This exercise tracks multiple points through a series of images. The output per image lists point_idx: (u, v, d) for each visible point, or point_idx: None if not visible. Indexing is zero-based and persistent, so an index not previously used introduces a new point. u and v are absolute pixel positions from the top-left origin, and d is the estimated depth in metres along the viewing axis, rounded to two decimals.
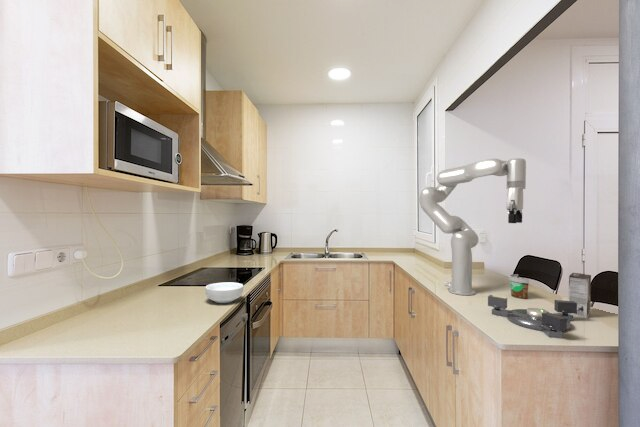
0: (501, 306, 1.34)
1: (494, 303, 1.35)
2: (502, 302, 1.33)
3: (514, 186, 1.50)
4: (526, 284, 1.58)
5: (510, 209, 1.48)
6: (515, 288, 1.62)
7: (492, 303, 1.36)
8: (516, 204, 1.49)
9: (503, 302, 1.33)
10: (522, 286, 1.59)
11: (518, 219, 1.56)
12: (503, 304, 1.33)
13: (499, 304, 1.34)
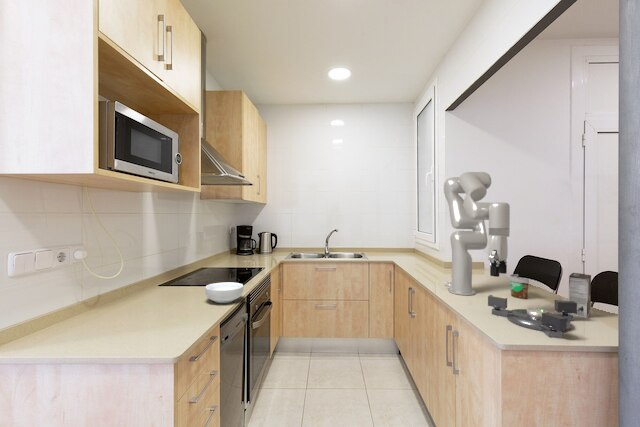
0: (501, 306, 1.34)
1: (494, 303, 1.35)
2: (502, 302, 1.33)
3: (496, 234, 1.33)
4: (526, 284, 1.58)
5: (492, 261, 1.30)
6: (515, 288, 1.62)
7: (492, 303, 1.36)
8: (499, 255, 1.31)
9: (503, 302, 1.33)
10: (522, 286, 1.59)
11: (502, 269, 1.38)
12: (503, 304, 1.33)
13: (499, 304, 1.34)
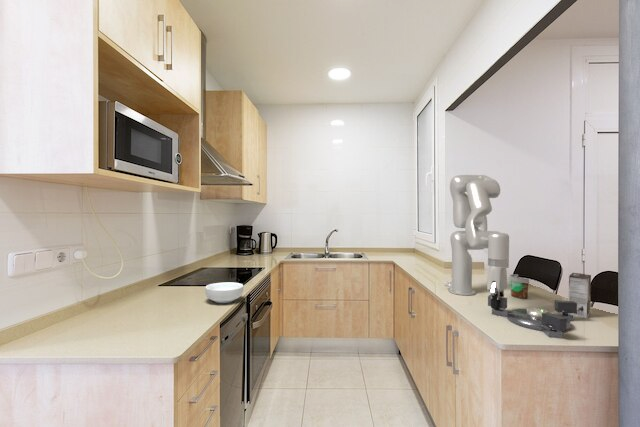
0: (501, 306, 1.34)
1: None
2: (502, 302, 1.33)
3: (496, 265, 1.33)
4: (526, 284, 1.58)
5: None
6: (515, 288, 1.62)
7: None
8: (498, 286, 1.31)
9: (503, 302, 1.33)
10: (522, 286, 1.59)
11: None
12: (503, 304, 1.33)
13: None
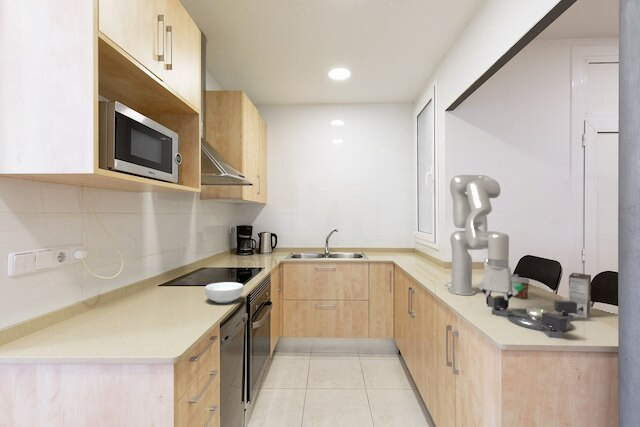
0: None
1: (498, 304, 1.34)
2: None
3: (508, 265, 1.33)
4: (526, 284, 1.58)
5: None
6: (515, 288, 1.62)
7: (497, 304, 1.34)
8: None
9: None
10: (522, 286, 1.59)
11: None
12: None
13: (502, 303, 1.35)
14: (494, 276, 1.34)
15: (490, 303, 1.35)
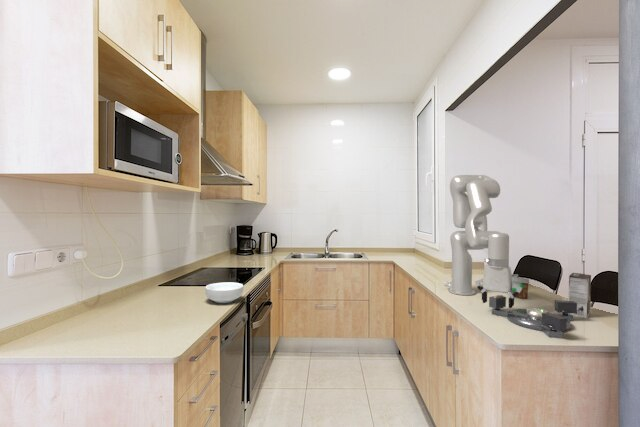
0: (503, 305, 1.36)
1: (499, 304, 1.34)
2: (504, 301, 1.36)
3: (508, 265, 1.33)
4: (526, 284, 1.58)
5: None
6: (515, 288, 1.62)
7: (498, 304, 1.34)
8: (512, 285, 1.34)
9: (505, 300, 1.36)
10: (522, 286, 1.59)
11: (486, 298, 1.39)
12: (504, 302, 1.36)
13: (502, 303, 1.35)
14: (494, 276, 1.34)
15: (491, 303, 1.35)
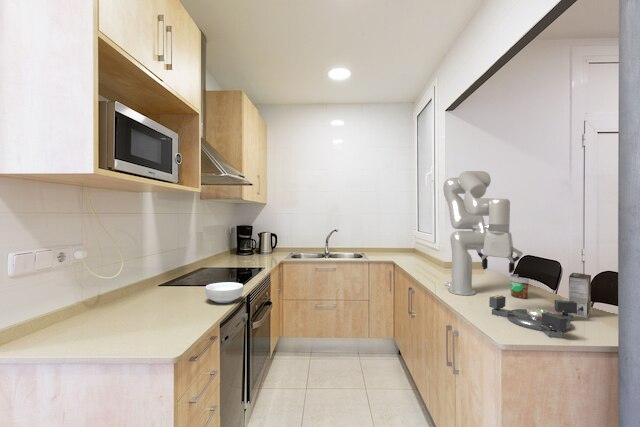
0: (503, 304, 1.36)
1: (500, 304, 1.34)
2: (504, 300, 1.36)
3: None
4: (526, 284, 1.58)
5: (519, 257, 1.30)
6: (515, 288, 1.62)
7: (499, 304, 1.34)
8: None
9: (504, 300, 1.36)
10: (522, 286, 1.59)
11: (486, 265, 1.39)
12: (504, 302, 1.36)
13: (502, 303, 1.35)
14: (495, 241, 1.34)
15: (492, 304, 1.35)
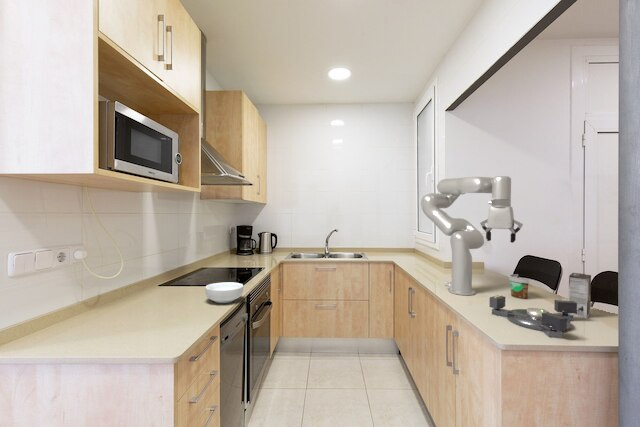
0: (503, 304, 1.36)
1: (500, 304, 1.34)
2: (504, 300, 1.36)
3: (510, 205, 1.48)
4: (526, 284, 1.58)
5: (520, 228, 1.45)
6: (515, 288, 1.62)
7: (499, 304, 1.34)
8: (513, 223, 1.48)
9: (504, 300, 1.36)
10: (522, 286, 1.59)
11: (490, 237, 1.54)
12: (504, 302, 1.36)
13: (502, 303, 1.35)
14: (498, 214, 1.49)
15: (492, 304, 1.35)
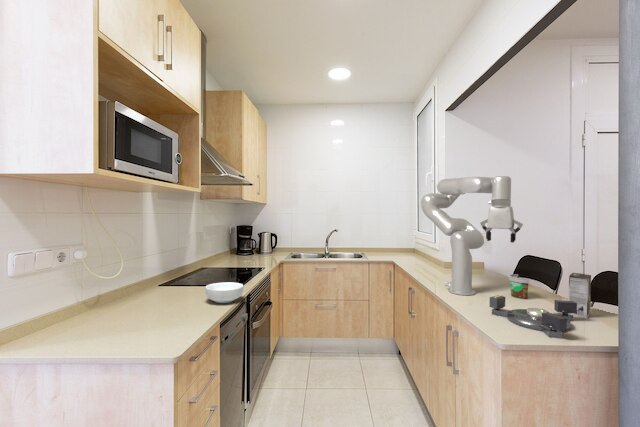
0: (503, 304, 1.36)
1: (500, 304, 1.34)
2: (504, 300, 1.36)
3: (510, 204, 1.48)
4: (526, 284, 1.58)
5: (520, 228, 1.45)
6: (515, 288, 1.62)
7: (499, 304, 1.34)
8: (513, 223, 1.48)
9: (504, 300, 1.36)
10: (522, 286, 1.59)
11: (490, 237, 1.54)
12: (504, 302, 1.36)
13: (502, 303, 1.35)
14: (498, 214, 1.49)
15: (492, 304, 1.35)
